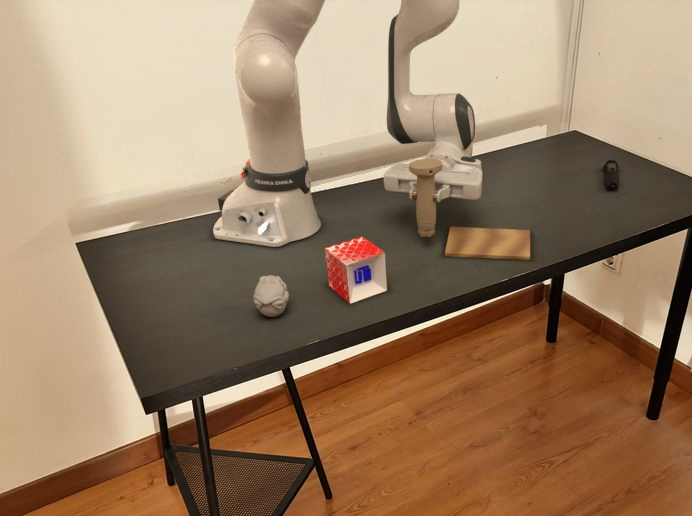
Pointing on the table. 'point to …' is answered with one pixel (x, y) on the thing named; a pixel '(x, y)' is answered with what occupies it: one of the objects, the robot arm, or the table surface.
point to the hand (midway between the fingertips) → (424, 197)
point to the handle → (425, 194)
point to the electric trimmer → (611, 174)
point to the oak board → (488, 243)
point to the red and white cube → (356, 269)
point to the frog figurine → (271, 295)
